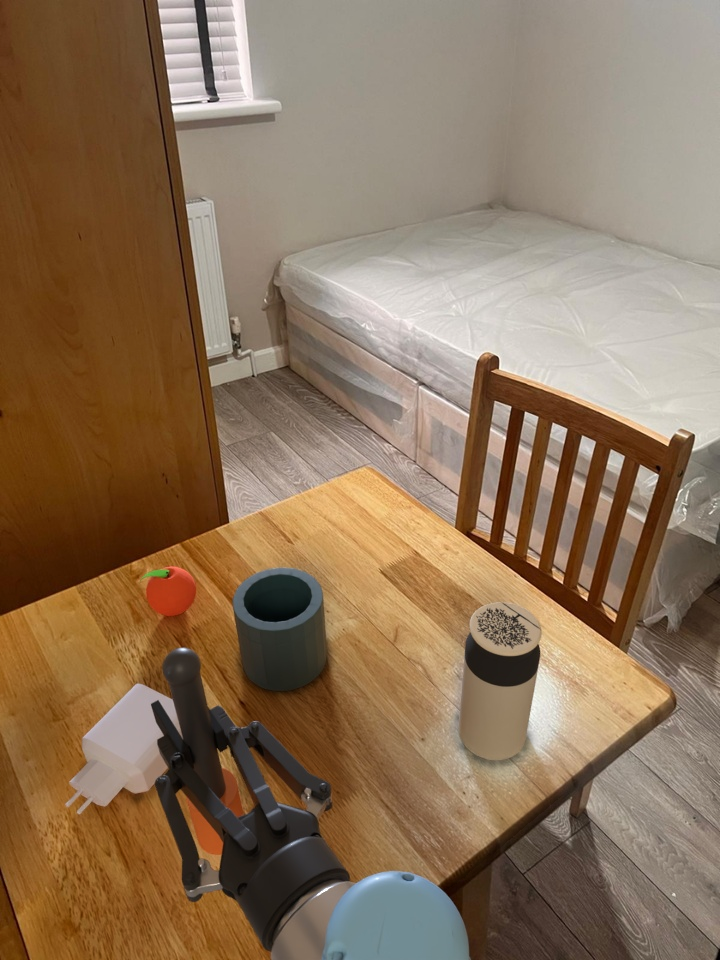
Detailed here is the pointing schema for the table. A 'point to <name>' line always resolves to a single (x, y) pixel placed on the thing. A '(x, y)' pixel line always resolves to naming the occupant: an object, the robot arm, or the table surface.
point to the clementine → (170, 590)
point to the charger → (123, 749)
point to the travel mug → (498, 680)
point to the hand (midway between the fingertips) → (173, 702)
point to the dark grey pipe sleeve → (281, 628)
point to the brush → (200, 741)
